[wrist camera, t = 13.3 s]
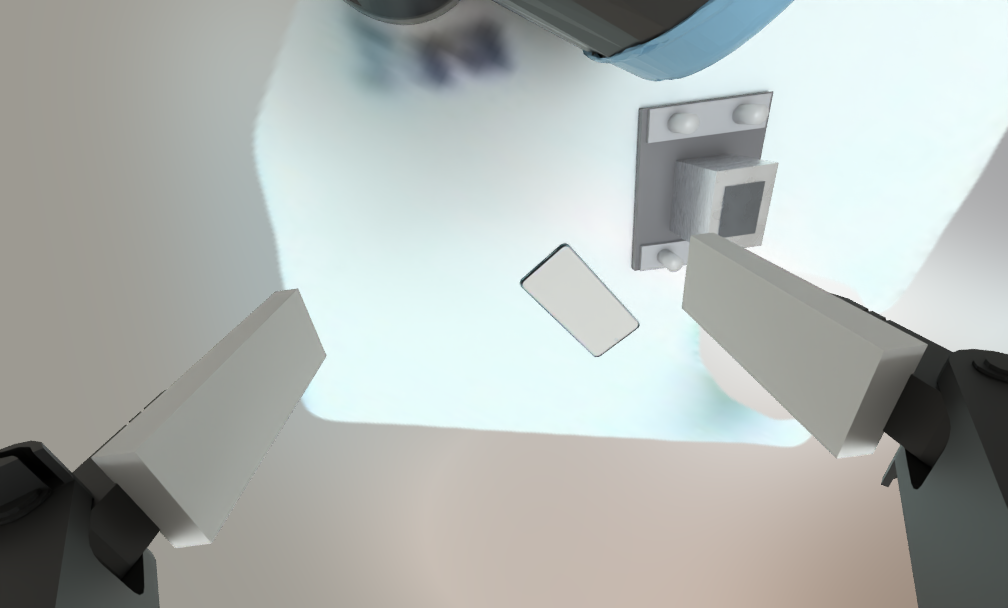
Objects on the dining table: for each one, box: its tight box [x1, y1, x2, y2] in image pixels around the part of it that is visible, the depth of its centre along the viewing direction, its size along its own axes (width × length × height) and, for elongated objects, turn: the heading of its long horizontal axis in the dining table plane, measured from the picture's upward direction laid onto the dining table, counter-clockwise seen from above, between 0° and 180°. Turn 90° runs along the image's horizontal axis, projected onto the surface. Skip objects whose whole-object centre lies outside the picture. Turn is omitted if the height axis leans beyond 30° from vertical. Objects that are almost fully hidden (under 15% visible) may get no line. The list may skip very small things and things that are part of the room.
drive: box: [670, 154, 778, 248], centre depth 35 cm, size 7×5×7 cm
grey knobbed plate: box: [632, 91, 773, 272], centre depth 37 cm, size 16×12×4 cm
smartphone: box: [520, 244, 639, 357], centre depth 44 cm, size 7×1×15 cm
